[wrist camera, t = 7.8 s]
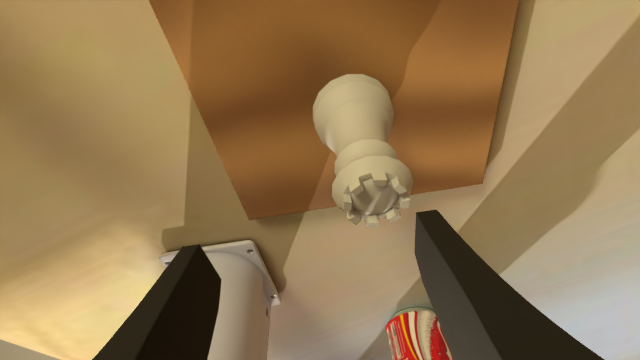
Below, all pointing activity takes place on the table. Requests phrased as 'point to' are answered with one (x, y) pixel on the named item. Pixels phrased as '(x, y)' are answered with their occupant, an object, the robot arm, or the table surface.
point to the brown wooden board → (333, 62)
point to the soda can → (417, 336)
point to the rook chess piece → (362, 149)
